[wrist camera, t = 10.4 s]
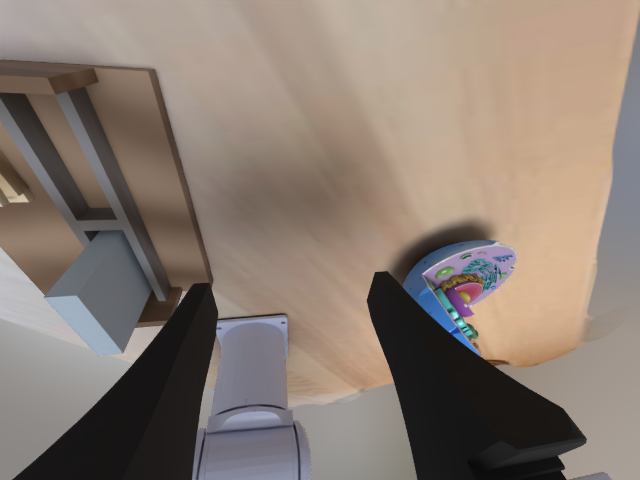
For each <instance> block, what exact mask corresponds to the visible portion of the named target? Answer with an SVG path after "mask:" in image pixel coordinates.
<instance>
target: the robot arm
mask: <svg viewBox="0 0 640 480" xmlns="http://www.w3.org/2000/svg"><path fill="white" fill-rule="evenodd" d="M367 304H368V308H369V312H370V316H371V320H372V323H373V326H374V328H375V331H376V334H377V336H378V339H379V342H380V344H381V347H382V349H383V352H384V355H385V357H386V360H387V362H388V365H389V368H390V371H391V374H392V376H393V380H394V383H395V386H396V391H397V394H398V397H399V401H400V405H401V409H402V413H403V417H404V420H405V425H406V429H407V433H408V437H409V442H410V446H411V450H412V455H413V460H414V464H415V470H416V474H417V479H418V480H566V478H565V476H564V475H563V474H562V472H561V470H564V469H565V467H564V465H563V463H562V462H561V460H560V459H559V457H558V455H561V454H563V453H566V452H568V451H570V450H573V449H575V448H578V447H580V446H582V445H584V444H585V443H586V440H587V439H586V437H585V436H584V435H583V434H582V432H581V431H580V430H579V428H578V427H577V426H576V424H575V423H574V422H573V421H572V419H571V418H570V417H569V416H568V414H567V413H566V412H565V410H564V409H563V408H561V407H560V406H558V405H556V404H554V403H553V402H551V401H549V400H548V399H546V398H544V397H542V396H541V395H539V394H537V393H535V392H534V391H532V390H530V389H528V388H527V387H525V386H524V385H522V384H520V383H519V382H517V381H516V380H514V379H513V378H511V377H509V376H508V375H506V374H505V373H503V372H502V371H500V370H499V369H497V368H496V367H494V366H493V365H491V364H490V363H489V362H487V361H486V360H484V359H483V358H482V357H480V356H479V355H477V354H476V353H475V352H473V351H472V350H471V349H469V348H468V347H467V346H465V345H464V344H463V343H462V342H460V341H459V340H458V339H457V338H456V337H454V336H453V335H452V334H451V333H449V332H448V331H447V330H446V329H445V328H444V327H442V326H441V325H440V324H439V323H438V322H437V321H436V320H435V319H434V318H433V317H431V316H430V315H429V314H428V313H427V312H426V311H425V310H424V309H423V308H422V307H421V306H420V305H419V304H418V303H417V302H416V301H415V300H414V299H413V298H412V297H411V296H410V295H409V294H408V292H407V291H406V290H405V289H404V288H403V287H402V286H401V285H400V284H399V283H398V282H397V281H396V280H395V279H394V278H393V277H392V275H391V274H390V273H389V272H388V271H385V272H375V274H374V277H373V281H372V284H371V288H370V291H369V295H368V298H367ZM217 320H218V310H217V306H216V303H215V299H214V296H213V293H212V289H211V286H210V282H209V283H194V284H193V285H192V286H191V287H190V289H189V290H188V292H187V293H186V295H185V297H184V298H183V300H182V301H181V303H180V304H179V305H178V307H177V308H176V310H175V311H174V313H173V314H172V315H171V317H170V318H169V320H168V321H167V322H166V324H165V325H164V326H163V328H162V329H161V330H160V332H159V333H158V334H157V336H156V337H155V338H154V339H153V341H152V342H151V343H150V344H149V346H148V347H147V348H146V349H145V351H144V352H143V353H142V354H141V355H140V357H139V358H138V359H137V360H136V361H135V362H134V364H133V365H132V366H131V367H130V368H129V369H128V371H127V372H126V373H125V374H124V375H123V376H122V377H121V378H120V379H119V380H118V381H117V383H116V384H115V385H114V386H113V387H112V388H111V389H110V390H109V391H108V392H107V393H106V394H105V395H104V396H103V397H102V398H101V399H100V400H99V401H98V402H97V403H96V404H95V405H94V406H93V407H92V408H91V409H90V410H89V411H88V412H87V413H86V414H85V415H84V416H83V417H82V418H81V419H80V420H79V421H78V422H77V423H76V424H75V425H73V426H72V427H71V428H70V429H69V430H68V431H67V432H66V433H65V434H63V435H62V436H61V437H60V438H59V439H58V440H57V441H56V442H55V443H54V444H53V445H52V446H51V447H49V448H48V449H47V450H46V451H45V452H44V453H43V454H42V455H41V456H39V457H38V458H37V459H36V460H35V461H34V462H33V463H31V464H30V465H29V466H28V467H27V468H25V469H24V470H23V471H22V472H21V473H20V474H18V475H17V476H16V477H15V478H14V479H12V480H311V457H310V448H309V442H308V437H307V433H306V431H305V429H304V428H303V426H302V425H301V423H300V422H299V421H297V420H296V421H293V411H292V410H288V400H287V379H286V358H288V320H287V316H286V315H276V316H264V317H252V318H241V319H229V320H218V321H217ZM216 334H217V337H218V341H219V344H220V347H221V352H220V359H219V365H218V372H217V379H216V385H215V392H214V398H213V405H212V411H211V416H209V418H208V425H207V431H206V428H200V429H199V430H198V423H199V414H200V407H201V401H202V396H203V390H204V386H205V382H206V377H207V373H208V369H209V364H210V360H211V355H212V351H213V347H214V342H215V337H216ZM197 430H198V431H197ZM205 431H206V432H205ZM570 480H611V478H610V477H609V476H608V474H607V473H604V472H600V473H595V474H591V475H586V476H582V477H578V478H574V479H570Z"/></svg>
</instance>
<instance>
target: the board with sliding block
mask: <svg viewBox="0 0 640 480" xmlns="http://www.w3.org/2000/svg"><path fill="white" fill-rule="evenodd" d="M0 149H1V151H2V152H3V154H4V155H5V156H6V158H7V159H8V161H9V162H10V164H11V165H12V166H13V168H14V169H15V171H16V172H17V174H18V175H19V176H20V178H21V179H22V181H23V182H24V184H25V185H26V186H27V188H28V189H29V191H30V192H31V193H32V195H33V196H34V199H33V200H32V201H30V202H10V203H8V204H6V205H5V206H3V207H0V247H1V248H2V249H3V250H4V251H5V252H6V253H7V254H8V256H9V257H10V258H11V259H12V260H13V261H14V262H15V263H16V264H17V265H18V266H19V267H20V269H21V270H22V271H23V272H24V273H25V274H26V275H27V276H28V277H29V278H30V279H31V281H32V282H33V283H34V284H35V285H36V286H37V287H38V288H39V289H40V290H41V291H42V293H43V294H44V295H46V294H47V293H48V292H49V291H50V289H51V288H52V287H53V286H54V285H55V283H56V282H57V281H58V280H59V279H60V278H61V276H62V275H63V274H64V273H65V272H66V271H67V269H68V268H69V267H70V266H71V265H72V263H73V262H74V261H75V260H76V259H77V258H78V256H79V255H80V254H81V253H82V252H83V251H84V249H85V248H86V247H87V246H88V245H89V243H90V242H91V241H92V240H93V239H94V238H95V236H96V235H97V234H98V233H99V232H100V231H101V230H123V231H124V233H125V235H126V237H127V239H128V241H129V243H130V245H131V247H132V249H133V251H134V253H135V255H136V257H137V259H138V261H139V263H140V265H141V267H142V269H143V271H144V273H145V275H146V277H147V279H148V281H149V283H150V285H151V287H152V291H151V293H150V295H149V298H148V300H147V302H146V304H145V306H144V309H143V311H142V313H141V315H140V317H139V320H138V322H137V324H136V326H135V328H138V327H150V326H162V325H165V324H166V322H167V321H168V320H169V318H170V317H171V315H172V314H173V313H174V311H175V310H176V308H177V306H178V303H179V300H180V297H181V294H182V291H188V290H189V289H190V287H191V286H192V285H193V284H194V283H209V282H210V286H211V288H212V284H213V279H212V275H211V272H210V268H209V264H208V261H207V257H206V253H205V250H204V246H203V243H202V239H201V235H200V232H199V228H198V224H197V221H196V217H195V214H194V210H193V206H192V203H191V199H190V195H189V192H188V188H187V185H186V181H185V177H184V174H183V170H182V166H181V163H180V159H179V155H178V152H177V148H176V145H175V141H174V137H173V134H172V130H171V126H170V123H169V119H168V116H167V112H166V108H165V105H164V101H163V97H162V94H161V90H160V87H159V83H158V79H157V76H156V72H155V69H142V68H127V67H111V66H95V65H79V64H63V63H47V62H31V61H15V60H0Z"/></svg>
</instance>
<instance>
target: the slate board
mask: <svg viewBox="0 0 640 480" xmlns="http://www.w3.org/2000/svg"><path fill="white" fill-rule="evenodd" d="M151 291H152V287H151V285H150V283H149V281H148V279H147V277H146V275H145V273H144V271H143V269H142V267H141V265H140V263H139V261H138V259H137V257H136V255H135V253H134V251H133V249H132V247H131V245H130V243H129V241H128V239H127V237H126V235H125V233H124V231H123V230H101V231H100V232H99V233H98V234H97V235H96V236H95V238H94V239H93V240H92V241H91V242H90V243H89V245H88V246H87V247H86V248H85V249H84V251H83V252H82V253H81V254H80V255H79V256H78V258H77V259H76V260H75V261H74V262H73V263H72V265H71V266H70V267H69V268H68V269H67V271H66V272H65V273H64V274H63V275H62V276H61V278H60V279H59V280H58V281H57V282H56V283H55V285H54V286H53V287H52V288H51V289H50V291H49V292H48V293H47V294H46V295H45V296H44V299H45V300H46V301H47V302H48V303H49V304H50V305H51V306H52V308H53V309H54V310H55V311H56V312H57V313H58V314H59V315H60V316H61V317H62V318H63V319H64V320H65V321H66V322H67V324H68V325H69V326H70V327H71V328H72V329H73V330H74V331H75V332H76V333H77V334H78V335H79V336H80V337H81V338H82V339H83V341H84V342H85V343H86V344H87V345H88V346H89V347H90V348H91V349H92V350H93V351H94V352H95V353H96V354H97V355H98V356H102V355H112V354H122V353H124V350H125V348H126V346H127V344H128V342H129V339H130V337H131V335H132V333H133V331H134V328H135V326H136V324H137V322H138V320H139V317H140V315H141V313H142V311H143V309H144V306H145V304H146V302H147V300H148V298H149V295H150V293H151Z"/></svg>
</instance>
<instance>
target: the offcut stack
mask: <svg viewBox="0 0 640 480" xmlns="http://www.w3.org/2000/svg"><path fill="white" fill-rule="evenodd" d="M33 199H34V196H33V195H32V193H31V192H30V191H29V189H28V188H27V186H26V185H25V184H24V182H23V181H22V179H21V178H20V176H19V175H18V174H17V172H16V171H15V169H14V168H13V166H12V165H11V164H10V162H9V161H8V159H7V158H6V156H5V155H4V154H3V152H2V151H1V149H0V207H3V206H5V205H6V204H8V203H10V202H30V201H32V200H33Z"/></svg>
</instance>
